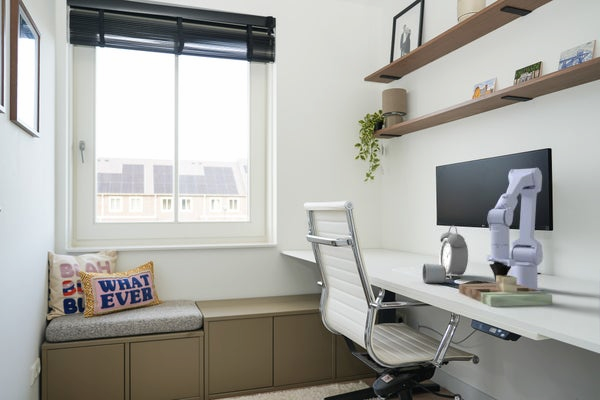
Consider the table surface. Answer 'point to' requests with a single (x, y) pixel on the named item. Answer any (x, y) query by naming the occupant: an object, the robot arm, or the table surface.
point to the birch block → (506, 283)
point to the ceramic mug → (434, 273)
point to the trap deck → (505, 295)
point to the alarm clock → (453, 253)
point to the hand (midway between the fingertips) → (500, 285)
